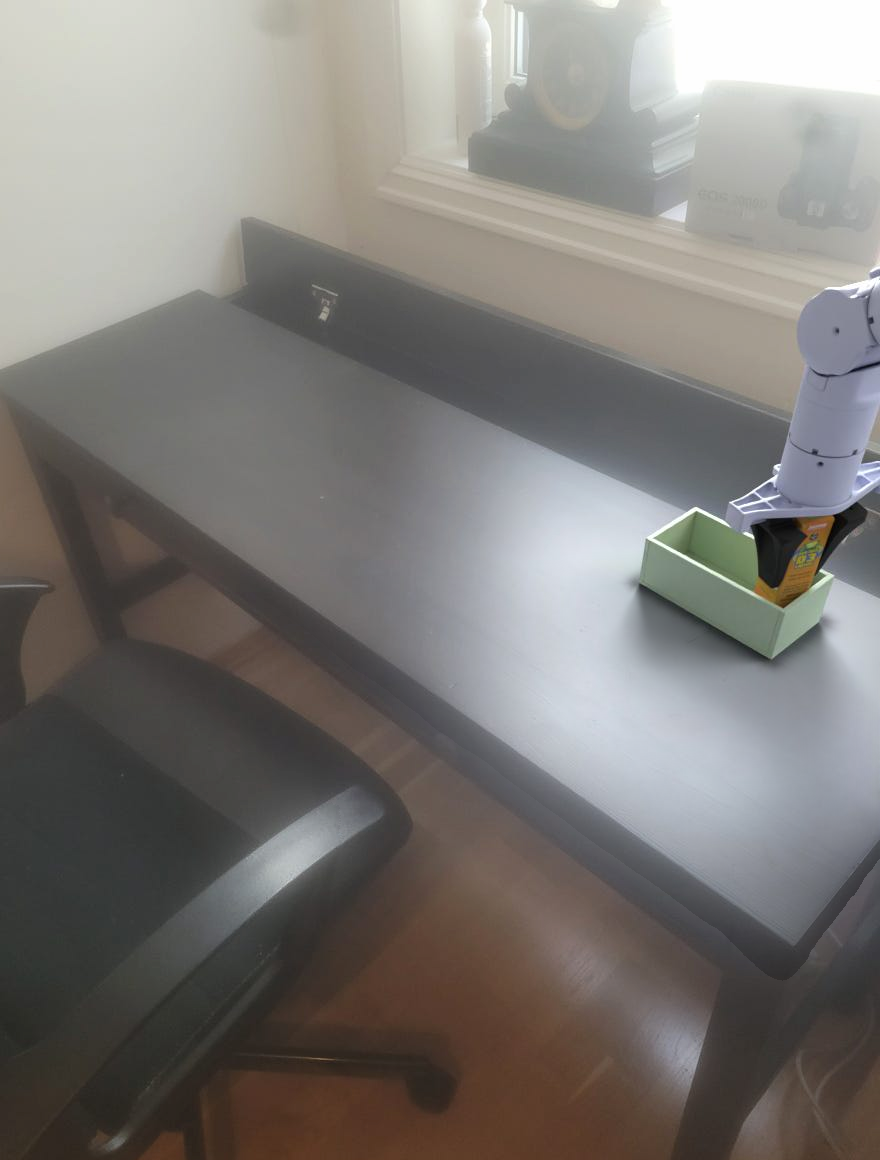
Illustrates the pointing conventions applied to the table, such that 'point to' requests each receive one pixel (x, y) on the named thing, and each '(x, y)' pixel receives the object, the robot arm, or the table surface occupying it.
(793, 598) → the supplement box
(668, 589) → the storage bin
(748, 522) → the robot arm
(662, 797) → the table surface
